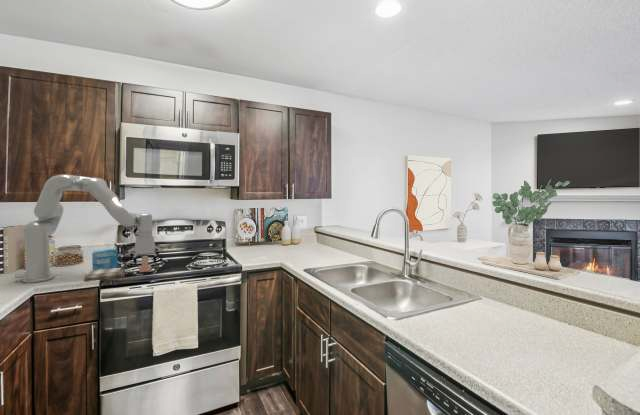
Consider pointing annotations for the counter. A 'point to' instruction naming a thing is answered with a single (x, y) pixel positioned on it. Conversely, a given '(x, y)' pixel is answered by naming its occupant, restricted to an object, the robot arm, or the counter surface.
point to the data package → (105, 259)
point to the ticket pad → (104, 274)
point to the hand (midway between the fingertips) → (145, 263)
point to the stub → (144, 265)
